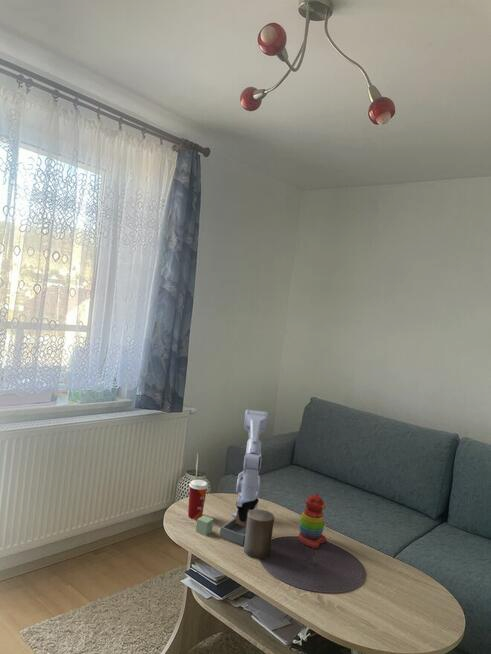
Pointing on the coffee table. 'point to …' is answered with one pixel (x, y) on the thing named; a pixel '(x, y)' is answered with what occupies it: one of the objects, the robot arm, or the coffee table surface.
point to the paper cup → (197, 498)
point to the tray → (233, 532)
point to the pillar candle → (258, 533)
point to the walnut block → (241, 521)
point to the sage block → (204, 525)
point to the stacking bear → (312, 522)
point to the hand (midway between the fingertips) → (245, 518)
